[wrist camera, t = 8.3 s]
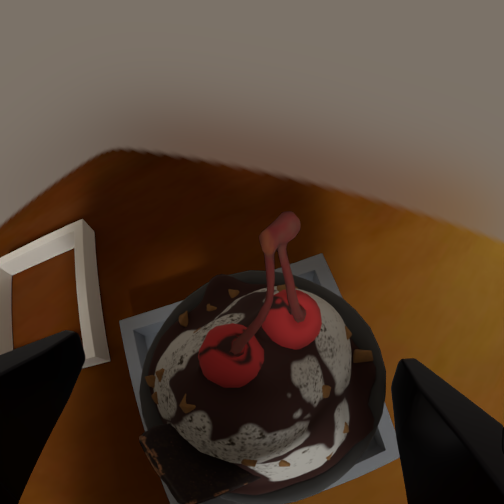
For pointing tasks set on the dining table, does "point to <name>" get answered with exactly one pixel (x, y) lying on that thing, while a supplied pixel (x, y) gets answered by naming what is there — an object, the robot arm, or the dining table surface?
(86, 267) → the white square frame
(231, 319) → the sundae
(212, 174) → the dining table surface
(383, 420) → the tray
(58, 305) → the dining table surface
